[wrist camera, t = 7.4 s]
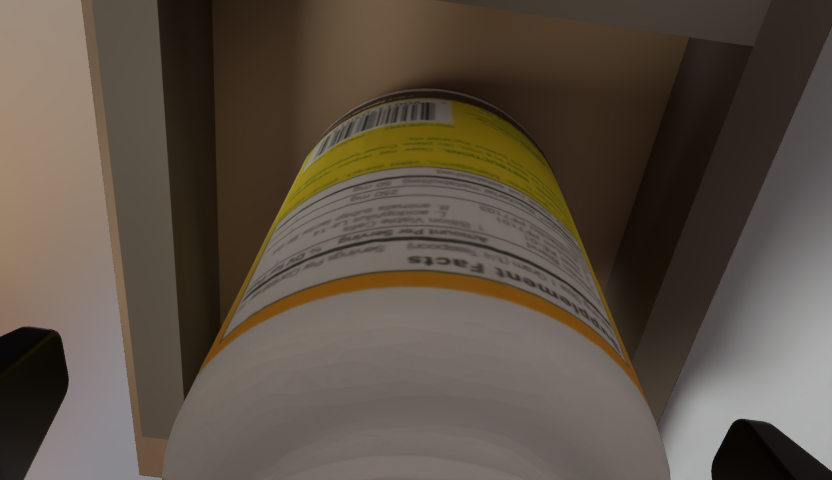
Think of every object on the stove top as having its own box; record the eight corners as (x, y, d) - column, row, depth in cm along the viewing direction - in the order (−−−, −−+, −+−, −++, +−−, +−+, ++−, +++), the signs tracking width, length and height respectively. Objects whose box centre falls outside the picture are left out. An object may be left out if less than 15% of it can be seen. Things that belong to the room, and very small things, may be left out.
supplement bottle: (461, 344, 16) (485, 959, 7) (258, 236, 14) (-49, 818, 5) (612, 170, 13) (967, 766, 4) (384, 20, 12) (207, 424, 3)
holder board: (949, -333, 10) (1175, -433, 7) (602, 504, 20) (631, 618, 17) (57, -477, 10) (-128, -653, 6) (153, 448, 19) (98, 553, 16)
